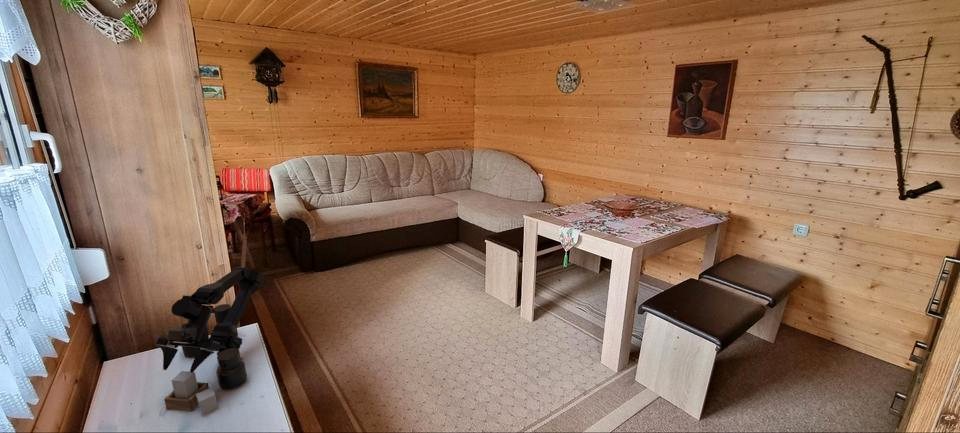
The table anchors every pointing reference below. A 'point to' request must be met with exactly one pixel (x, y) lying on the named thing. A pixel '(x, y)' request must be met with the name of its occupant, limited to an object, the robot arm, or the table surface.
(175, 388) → the light grey rectangular block
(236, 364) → the ink bottle
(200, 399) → the grey block
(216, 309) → the deodorant
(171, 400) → the walnut collar
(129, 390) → the table surface
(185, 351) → the pen holder
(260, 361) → the table surface
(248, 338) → the table surface
